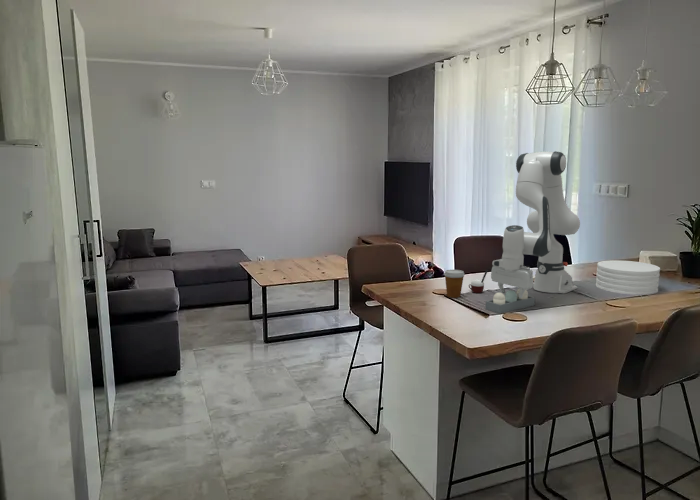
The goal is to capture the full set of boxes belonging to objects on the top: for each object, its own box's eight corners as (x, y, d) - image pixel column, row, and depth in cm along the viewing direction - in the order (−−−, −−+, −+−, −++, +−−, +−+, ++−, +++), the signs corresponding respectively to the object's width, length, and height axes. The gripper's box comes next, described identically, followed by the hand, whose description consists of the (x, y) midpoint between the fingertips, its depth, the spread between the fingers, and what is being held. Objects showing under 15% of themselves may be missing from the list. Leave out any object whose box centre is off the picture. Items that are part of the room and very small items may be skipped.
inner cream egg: (520, 302, 241) (521, 286, 240) (529, 305, 237) (530, 288, 236) (512, 304, 238) (513, 287, 237) (522, 306, 234) (523, 289, 233)
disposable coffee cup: (448, 299, 250) (449, 274, 248) (440, 294, 260) (440, 270, 257) (467, 297, 253) (468, 272, 251) (458, 293, 262) (459, 268, 260)
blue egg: (509, 304, 237) (510, 288, 236) (518, 307, 233) (519, 290, 232) (501, 306, 234) (502, 289, 233) (510, 309, 230) (511, 292, 229)
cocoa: (466, 291, 266) (466, 268, 264) (476, 289, 269) (475, 266, 267) (480, 295, 258) (479, 270, 256) (490, 293, 261) (489, 268, 259)
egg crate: (519, 303, 243) (520, 293, 242) (534, 307, 237) (534, 297, 236) (485, 311, 231) (485, 301, 230) (499, 315, 225) (500, 305, 224)
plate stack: (643, 282, 284) (645, 260, 282) (668, 295, 257) (671, 272, 255) (588, 281, 287) (589, 259, 285) (607, 294, 260) (609, 271, 258)
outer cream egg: (498, 307, 233) (499, 290, 232) (507, 310, 229) (508, 293, 228) (490, 309, 231) (491, 292, 229) (499, 312, 226) (500, 294, 225)
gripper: (537, 267, 224) (535, 299, 226) (499, 259, 240) (497, 289, 243) (527, 268, 220) (525, 301, 223) (489, 260, 237) (488, 291, 239)
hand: (510, 295), depth 233 cm, fingers open, 8 cm apart
